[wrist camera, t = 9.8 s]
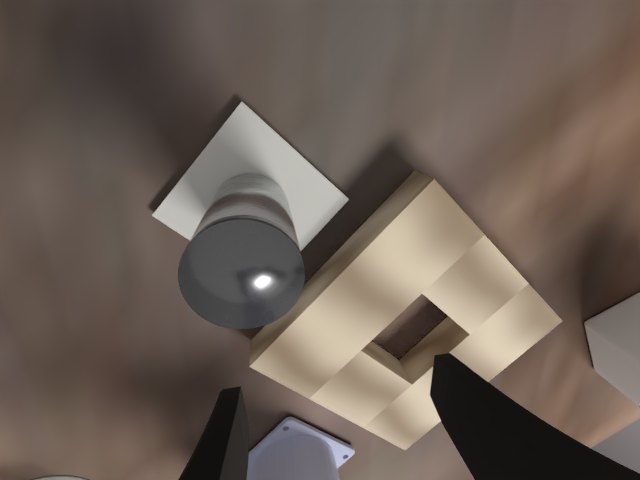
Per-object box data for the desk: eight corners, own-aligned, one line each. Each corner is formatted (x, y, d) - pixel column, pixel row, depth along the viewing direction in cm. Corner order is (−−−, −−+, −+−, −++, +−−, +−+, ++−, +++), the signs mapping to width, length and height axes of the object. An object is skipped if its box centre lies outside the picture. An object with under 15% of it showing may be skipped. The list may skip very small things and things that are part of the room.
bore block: (393, 422, 29) (405, 450, 26) (250, 340, 23) (249, 366, 20) (536, 301, 26) (562, 321, 23) (414, 170, 20) (434, 178, 17)
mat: (264, 287, 21) (264, 290, 21) (154, 213, 18) (151, 215, 18) (347, 197, 20) (349, 199, 19) (242, 101, 17) (241, 101, 16)
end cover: (262, 257, 20) (261, 345, 13) (197, 219, 18) (154, 295, 11) (303, 201, 19) (329, 262, 12) (239, 156, 17) (221, 195, 10)
